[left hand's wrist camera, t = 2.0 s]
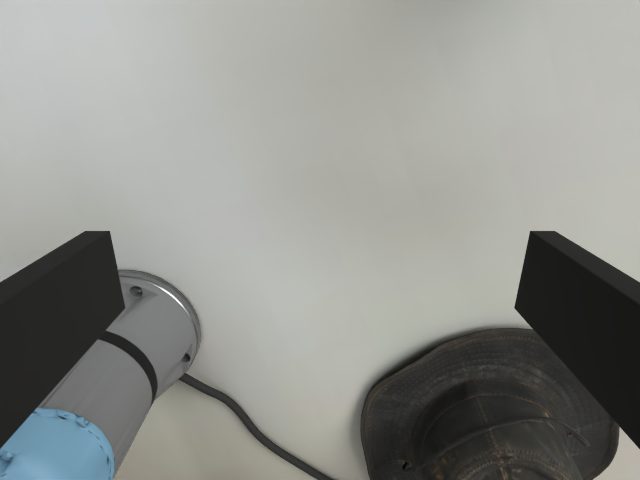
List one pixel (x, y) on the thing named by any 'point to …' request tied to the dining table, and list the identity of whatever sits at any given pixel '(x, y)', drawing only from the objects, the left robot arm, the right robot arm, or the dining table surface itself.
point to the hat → (486, 415)
